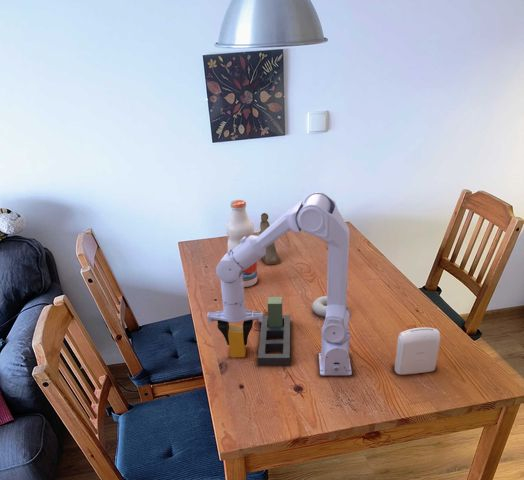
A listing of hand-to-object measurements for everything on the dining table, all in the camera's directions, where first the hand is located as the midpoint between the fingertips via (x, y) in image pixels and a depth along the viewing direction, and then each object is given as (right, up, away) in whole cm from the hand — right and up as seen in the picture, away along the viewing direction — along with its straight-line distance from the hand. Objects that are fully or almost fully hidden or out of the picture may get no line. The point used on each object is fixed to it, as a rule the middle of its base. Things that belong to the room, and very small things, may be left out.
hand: (237, 342), depth 131 cm
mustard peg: (0, -3, +2) cm, 3 cm away
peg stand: (+10, 0, +5) cm, 12 cm away
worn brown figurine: (+10, +33, +52) cm, 62 cm away
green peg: (+11, +4, +11) cm, 16 cm away
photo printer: (+46, -7, -8) cm, 47 cm away
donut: (+27, +10, +18) cm, 34 cm away
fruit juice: (+1, +22, +37) cm, 43 cm away
